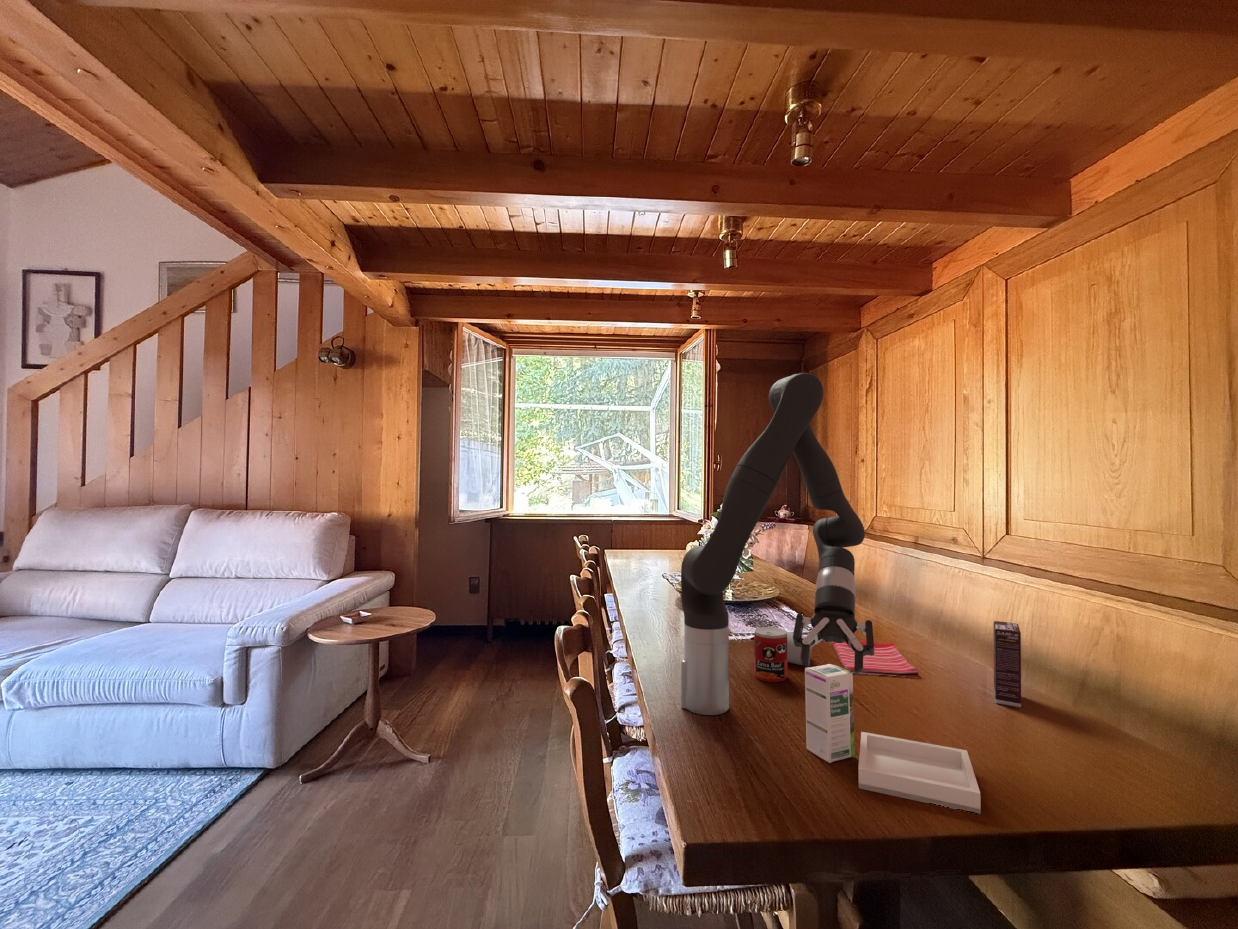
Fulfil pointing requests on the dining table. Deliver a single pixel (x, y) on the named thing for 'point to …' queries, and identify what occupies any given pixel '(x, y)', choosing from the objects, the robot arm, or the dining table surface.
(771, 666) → the canned food
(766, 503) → the robot arm
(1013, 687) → the supplement box
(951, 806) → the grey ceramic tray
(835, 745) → the syrup box
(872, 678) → the dining table surface
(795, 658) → the ceramic mug
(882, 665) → the dish towel
